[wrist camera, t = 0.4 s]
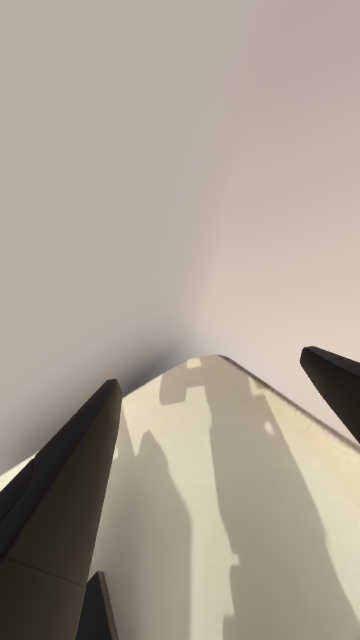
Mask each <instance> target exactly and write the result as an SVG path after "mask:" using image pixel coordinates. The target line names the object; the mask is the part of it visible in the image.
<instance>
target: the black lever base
mask: <svg viewBox="0 0 360 640" xmlns="http://www.w3.org/2000/svg"><path fill="white" fill-rule="evenodd" d="M85 587H86V590H85V594H84V599H83V604H82V609H81V614H80V619H79V623H78V628H77V633H76V638H75V640H119V639H118V635H117V630H116V626H115V621H114V617H113V613H112V608H111V604H110V599H109V595H108V590H107V586H106V581H105V577H104V572H100V571H97V572H96V573H95V574H94V576H93V577H92V578H91V579H90V580H89V581H88V582H87V584H86V586H85Z"/></svg>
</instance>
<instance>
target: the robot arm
mask: <svg viewBox="0 0 360 640" xmlns="http://www.w3.org/2000/svg"><path fill="white" fill-rule="evenodd" d="M300 364H301V366H302V368H303V369H304V371H305V372H306V374H307V375H308V377H309V378H310V380H311V381H312V383H313V384H314V386H315V387H316V389H317V390H318V392H319V393H320V395H321V396H322V397H323V399H324V400H325V401H326V402H327V404H328V405H329V406H330V407H331V409H332V410H333V411H334V412H335V414H336V415H337V416H338V417H339V419H340V420H341V421H342V422H343V424H344V425H345V426H346V427H347V429H348V430H349V431H350V432H351V434H352V435H353V436H354V437H355V439H356V440H357V441H358V442H359V444H360V363H359V362H356V361H353V360H351V359H348V358H345V357H342V356H340V355H337V354H334V353H331V352H328V351H326V350H323V349H320V348H317V347H314V346H310V347H304V348H303V350H302V353H301V358H300ZM121 402H122V390H121V388H120V385H119V383H118V381H117V379H110V380H107V381H106V382H105V383H104V384H103V385H102V386H101V387H100V388H99V389H98V390H97V391H96V392H95V393H94V394H93V395H92V397H90V399H89V400H88V401H87V402H86V403H85V404H84V405H83V406H82V407H81V408H80V409H79V410H78V411H77V412H76V413H75V414H74V415H73V417H72V418H71V419H70V420H69V421H68V422H67V423H66V424H65V425H64V426H63V427H62V428H61V429H60V430H59V431H58V432H57V433H56V435H54V437H53V438H52V439H51V440H50V441H49V442H48V443H47V444H46V445H45V446H44V447H43V448H42V449H41V450H40V451H39V452H38V453H37V454H36V455H35V457H34V458H33V459H32V460H31V461H30V462H29V463H28V464H27V465H26V466H25V467H24V468H23V469H22V470H21V471H20V472H19V473H18V474H17V475H16V476H15V477H14V478H13V479H12V480H11V481H10V482H9V483H8V484H7V486H6V487H5V488H4V489H3V490H2V491H1V492H0V640H75V638H76V633H77V628H78V623H79V619H80V614H81V609H82V604H83V599H84V594H85V590H86V587H85V586H86V584H87V579H88V574H89V570H90V565H91V560H92V555H93V550H94V546H95V541H96V536H97V531H98V526H99V521H100V517H101V512H102V507H103V502H104V497H105V493H106V488H107V483H108V478H109V473H110V468H111V464H112V459H113V454H114V449H115V444H116V440H117V435H118V429H119V422H120V412H121Z"/></svg>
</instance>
